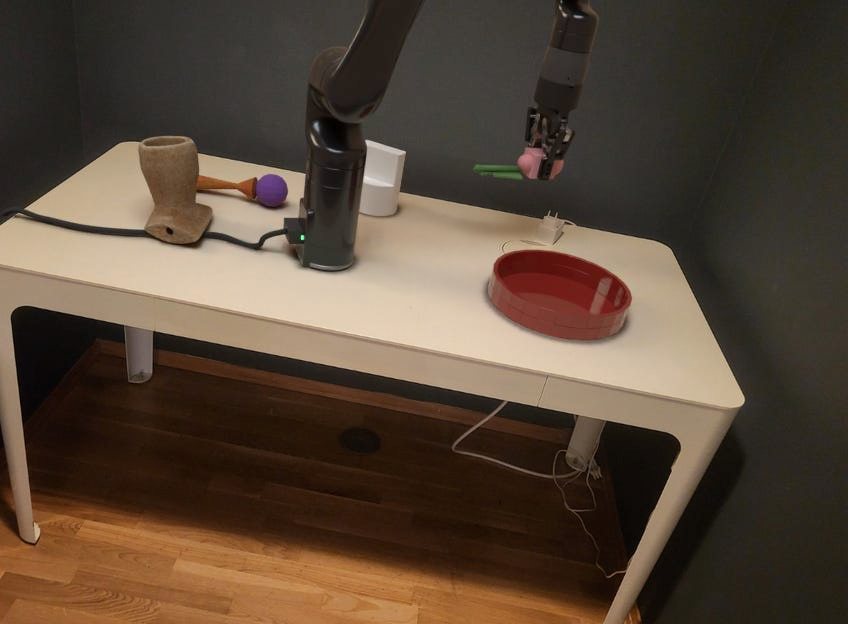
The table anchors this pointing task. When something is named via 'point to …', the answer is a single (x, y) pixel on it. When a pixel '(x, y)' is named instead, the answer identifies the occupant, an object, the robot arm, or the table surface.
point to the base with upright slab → (381, 179)
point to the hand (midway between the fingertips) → (536, 174)
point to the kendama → (252, 188)
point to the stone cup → (173, 188)
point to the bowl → (559, 294)
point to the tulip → (520, 166)
